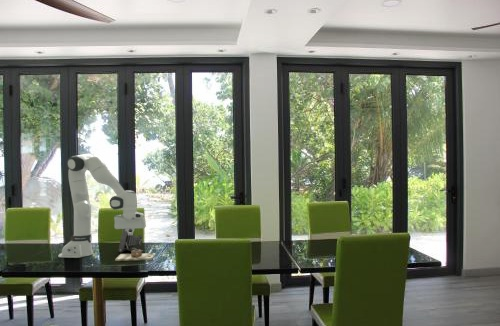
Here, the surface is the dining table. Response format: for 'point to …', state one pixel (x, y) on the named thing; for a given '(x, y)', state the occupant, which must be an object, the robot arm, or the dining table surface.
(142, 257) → the board
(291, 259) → the dining table surface
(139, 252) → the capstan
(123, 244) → the camera
